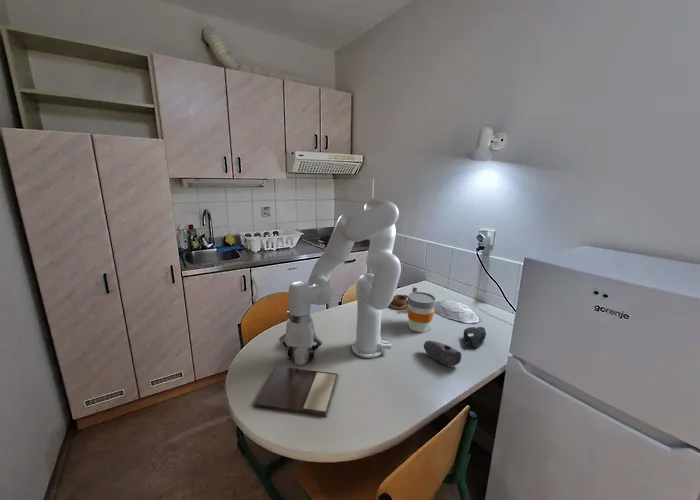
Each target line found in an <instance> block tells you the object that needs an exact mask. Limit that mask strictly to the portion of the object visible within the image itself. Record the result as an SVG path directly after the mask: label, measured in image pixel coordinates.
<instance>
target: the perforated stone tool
mask: <svg viewBox="0 0 700 500" xmlns="http://www.w3.org/2000/svg"><path fill="white" fill-rule="evenodd" d="M423 349H424V351H425V353H426V354H427V355H428V356H429V357H431V358H432V359H434V360H435V361H438V362H439V363H440V364H443V365H445V366H448V367H450V368H452V367H453V366H454V367H455V366H457V365H458V364H460V363H461V360H462V353H461V352H460V351H459V350H457V349H455V348H453V347H452V346H451V345H447V344H445V343H442V342H439V341H435V340H426V341H424V344H423Z"/></svg>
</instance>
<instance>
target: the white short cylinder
mask: <svg viewBox="0 0 700 500" xmlns="http://www.w3.org/2000/svg"><path fill="white" fill-rule="evenodd" d="M308 351H309V349H306V348H297V349H295V350H293V361H294V363H295V365H299V366H301V365H305V364H307V363H308V362H309V352H308Z"/></svg>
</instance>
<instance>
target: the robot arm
mask: <svg viewBox="0 0 700 500" xmlns="http://www.w3.org/2000/svg"><path fill="white" fill-rule="evenodd" d="M363 211H364V212H362V213H360V214H356V213H352V212H345V213H343V214H341V215H340V216H339V217H338V219H337V221H336V223H335V226H334V228H333V231H332V233H331V236H330V238H329V240H328V242H327V245H326V247H325V250H324V252H323V253H322V254H321V255H320V257H319V258H318V259H317V260H316V262H315V264H314V266H313V268H312V270H311V273H310V275H309V277H308V280H307V282H306V281H294V282H293V283H291V284H290V285H289V286H288V309H289V311H286V312H285V316H287V317H288V318H287V320H286V324H285V325H286V326H285V333H284V334H282V335H281V336H280V337H279V338H278V341H279V342H280V343H281V344H282V346H283V347H284V348H285V350H286V351H287V357H288V361H291V360H292V359H293V358H294V350H293V347H300V348H308V349H307V350H308V351H309V352H308V362H309V363H312V361H313V360H314V359H315V352H316V351H317V350H318V349H319V348H320V347H321V346H322V344H323V341H322V340H321V339H320V338H319V337H318V336H316V335H315V334H316V330H315V325H314V320H313V318H312V315H311V310H312V309H311V307H312V305H317V306H324V305H328V304H330V303H331V302H332V301H333V300H334V296H335V293H334V290H333V288H332V287H331V285H330V284H329V280H330V277H331V275H332V273H333V271H334V269H335V268H336V267H337V266H338V265H340V264H343V263H345V262H347V261H348V259H349V257H350V254H351V252H352V249H353V247H354V245H355V243H360V242H363V241H365V240H368V239H369V238H370V239H371V240H370V243H369V247H368V250H367V255H366V257H365V258H366V259H365V263H366V264H365V265H366V267H367V268H368V270H370V271H371V272H372V273H371V272H370V273H369V272H367V273H363V274H361V275H360V277H358V278H357V281H356V283H355V284H356V286H355V291H356V305H357V306H356V307H357V308H356V310H357V311H356V330H355V331H356V335H355V340H354V341H353V342H352V344H351V351H352V352H353V353H354V355H356V356H358V357H360V358H365V359H373V358H377V357H379V356H381V355H382V354H383V352H384V349H385V350H391V349H392V344H391V343H389V341H388V340H383V339H382V336H381V327H382V315H383V314H382V312H383V310H385V309H386V308H388V307H389V306H390V305H389V304H390V303H391V301H392V299H393V298H394V296H395V295H396V290H397V287H398V284H399V280H400V277H401V272H402V266H401V265H402V263H401V261H400V259H399V258H398V257H397V256H396V255H395V254H393V250H394V246H395V241H396V236H397V229H396V222H397V221H398V219H399V216H400V212H399V208H398V207H397V205H396V204H395V203H394V202H392V201H389V200H385V199H382V198H378V197H374V198H373V197H372V198H369V199H368V200H366V202H365V203H364V207H363ZM314 330H315V331H314ZM314 343H316V344H314Z"/></svg>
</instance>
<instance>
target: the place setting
mask: <svg viewBox="0 0 700 500" xmlns="http://www.w3.org/2000/svg"><path fill="white" fill-rule="evenodd" d="M413 292H418V288H417V287H412V293H413ZM407 300H408V296H405V295H403V294H394V297H393V299H392V301H391V303H390V304H389V306H390V307H391V308H392V309H395V310H399V311H398V312H397V314H399V313H404V312H408V310H407V306H408V302H407Z"/></svg>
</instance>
